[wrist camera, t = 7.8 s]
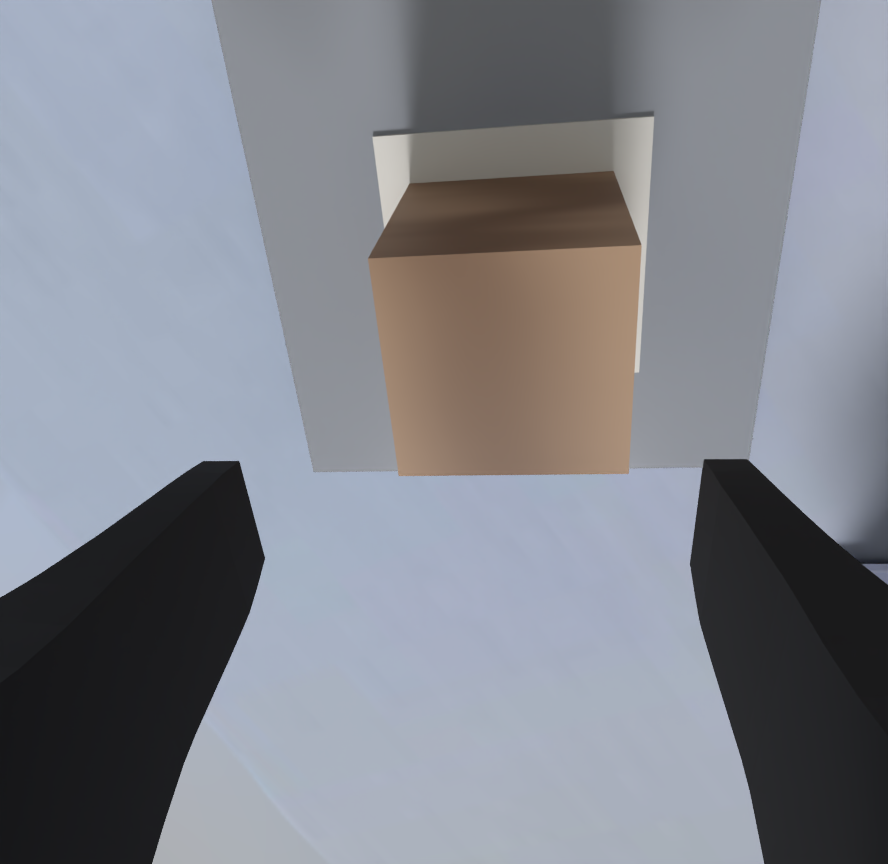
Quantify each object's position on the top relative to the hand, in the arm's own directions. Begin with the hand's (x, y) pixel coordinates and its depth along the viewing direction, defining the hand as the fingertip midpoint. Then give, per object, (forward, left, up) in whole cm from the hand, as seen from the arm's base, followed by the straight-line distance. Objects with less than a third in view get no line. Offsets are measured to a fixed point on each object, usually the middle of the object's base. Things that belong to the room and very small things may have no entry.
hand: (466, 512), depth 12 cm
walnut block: (-1, -1, -8) cm, 8 cm away
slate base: (-1, -1, -10) cm, 10 cm away
